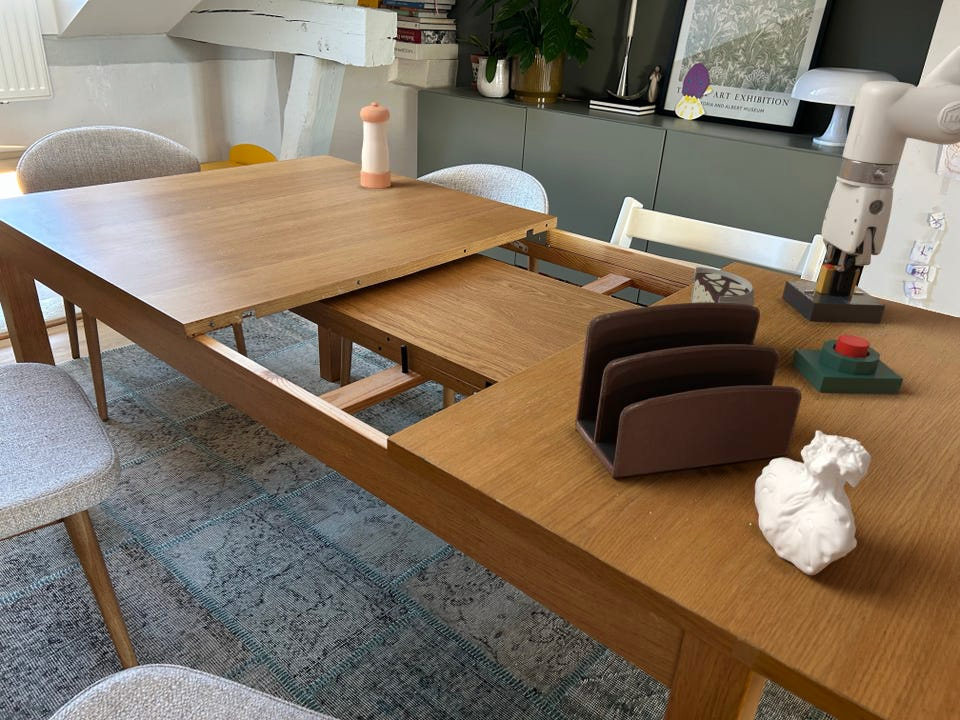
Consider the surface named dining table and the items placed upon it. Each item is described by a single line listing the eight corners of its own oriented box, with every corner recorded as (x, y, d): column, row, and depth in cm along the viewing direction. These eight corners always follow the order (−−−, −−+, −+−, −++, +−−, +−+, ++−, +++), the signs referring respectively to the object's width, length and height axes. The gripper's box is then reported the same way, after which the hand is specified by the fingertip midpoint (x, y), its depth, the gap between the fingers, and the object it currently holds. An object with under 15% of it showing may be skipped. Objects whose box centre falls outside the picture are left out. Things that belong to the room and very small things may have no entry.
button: (856, 347, 93) (860, 334, 92) (871, 359, 90) (875, 346, 89) (829, 346, 93) (833, 334, 92) (843, 359, 90) (847, 346, 89)
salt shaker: (393, 188, 177) (393, 104, 168) (362, 188, 175) (361, 104, 166) (388, 181, 183) (387, 100, 175) (358, 181, 181) (357, 100, 173)
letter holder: (572, 428, 79) (587, 305, 73) (733, 410, 84) (759, 295, 78) (612, 481, 70) (632, 347, 64) (788, 458, 75) (823, 332, 69)
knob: (847, 290, 115) (854, 264, 113) (853, 294, 113) (860, 268, 111) (815, 289, 115) (822, 263, 113) (820, 293, 113) (827, 267, 111)
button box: (864, 365, 97) (872, 338, 95) (898, 394, 90) (908, 365, 88) (791, 364, 96) (798, 336, 95) (819, 392, 89) (827, 363, 87)
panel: (847, 299, 120) (852, 281, 119) (879, 323, 111) (885, 304, 110) (781, 298, 119) (786, 279, 118) (809, 321, 110) (814, 302, 109)
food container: (754, 374, 93) (771, 300, 89) (705, 372, 93) (721, 298, 89) (725, 335, 104) (740, 268, 100) (682, 333, 104) (695, 265, 100)
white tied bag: (830, 611, 59) (945, 520, 56) (772, 569, 56) (890, 471, 53) (763, 518, 70) (857, 437, 67) (712, 478, 67) (807, 392, 64)
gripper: (924, 185, 99) (884, 312, 107) (863, 163, 113) (832, 276, 121) (870, 183, 99) (835, 310, 107) (816, 161, 113) (788, 274, 121)
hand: (834, 291), depth 114 cm, fingers closed on knob, 2 cm apart
